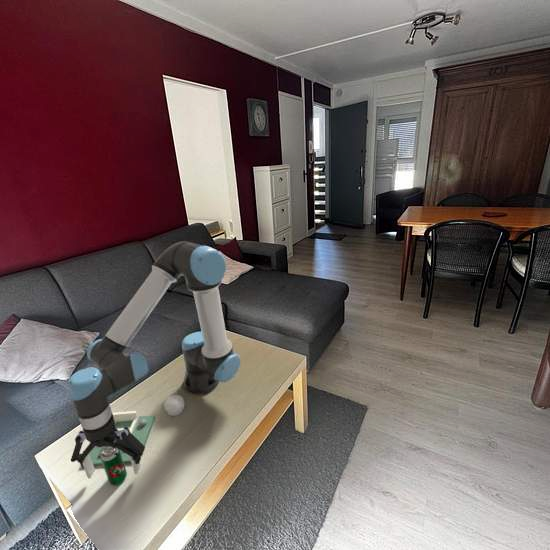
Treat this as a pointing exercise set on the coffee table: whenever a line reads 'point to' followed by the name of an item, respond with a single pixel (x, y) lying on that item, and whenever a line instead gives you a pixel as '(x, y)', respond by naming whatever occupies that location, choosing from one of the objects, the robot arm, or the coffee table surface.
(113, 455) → the soda can
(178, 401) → the seamed sphere
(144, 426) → the board
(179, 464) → the coffee table surface
